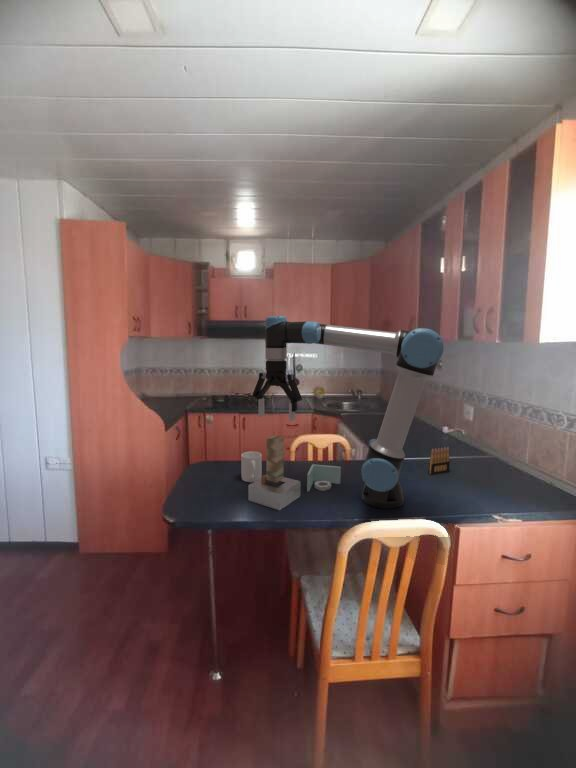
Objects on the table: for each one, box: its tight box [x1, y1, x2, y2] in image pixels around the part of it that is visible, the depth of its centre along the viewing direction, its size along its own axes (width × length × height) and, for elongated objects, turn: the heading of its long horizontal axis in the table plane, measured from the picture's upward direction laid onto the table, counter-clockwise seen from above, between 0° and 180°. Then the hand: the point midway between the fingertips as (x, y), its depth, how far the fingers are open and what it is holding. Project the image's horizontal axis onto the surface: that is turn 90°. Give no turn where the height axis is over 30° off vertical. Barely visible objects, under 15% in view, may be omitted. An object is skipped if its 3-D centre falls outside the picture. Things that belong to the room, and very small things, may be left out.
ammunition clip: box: [427, 446, 451, 476], centre depth 165 cm, size 11×2×12 cm, turn 112°
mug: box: [240, 451, 263, 483], centre depth 154 cm, size 9×12×11 cm
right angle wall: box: [306, 463, 342, 492], centre depth 148 cm, size 12×12×8 cm
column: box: [265, 435, 285, 483], centre depth 136 cm, size 5×5×16 cm
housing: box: [247, 473, 301, 511], centre depth 137 cm, size 14×14×8 cm
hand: (276, 418), depth 134 cm, fingers open, 13 cm apart
